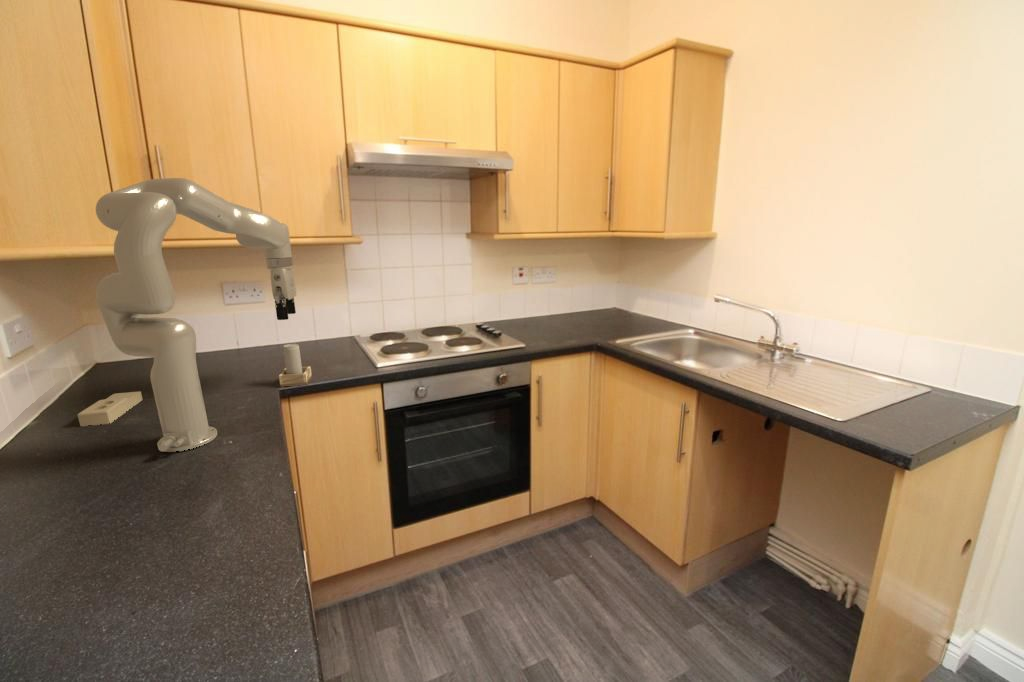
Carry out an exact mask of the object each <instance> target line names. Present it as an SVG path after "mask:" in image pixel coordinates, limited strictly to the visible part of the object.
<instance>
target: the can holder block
mask: <svg viewBox="0 0 1024 682" xmlns="http://www.w3.org/2000/svg"><path fill="white" fill-rule="evenodd" d="M302 372H303V373H302V374H288V375H287V371H286V367H285V368H284V369H283V370H282V372H281V373H280V374H279V375H278V379H279V386H291V385H306V386H308V385H309V383H310V382H311V380H312V378H313V375H312V368H311V366H310V365H309V366H302ZM311 377H312V378H311ZM310 379H311V380H310ZM308 382H309V383H308ZM307 384H308V385H307Z"/></svg>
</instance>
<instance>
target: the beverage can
mask: <svg viewBox="0 0 1024 682" xmlns="http://www.w3.org/2000/svg"><path fill="white" fill-rule="evenodd" d="M282 350H283V357H284V363H285V368H286V371H287V375H288V374H302V373H303V372H302V367H303V365H302V359H301V357H302V356H301V351H300V345H299V344H298V343H289V344H284V345H283V348H282Z"/></svg>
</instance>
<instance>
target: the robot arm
mask: <svg viewBox="0 0 1024 682" xmlns="http://www.w3.org/2000/svg"><path fill="white" fill-rule="evenodd" d="M95 215H96V217H97V219H98V220H99V222H100V223H101V224H102V225H103V226H105V227H107V228H108V229H110V230H113V231H116V232H118V233H117V234H116V237H115V240H114V244H113V254H114V258H115V259H114V260H115V261H116V266H117V270H118V272H115V273H110V274H109V275H106V276H104V277H103V278H102V279H101V281H99V283H98V285H97V288H96V302H97V306H98V308H99V310H100V313H101V315H102V318H103V320H104V323H105V325H106V327H107V330H108V333H109V335H110V338H111V340H112V343H113V344H114V346H115V347H116V349H118V350H119V352H121V353H122V354H124V355H126V356H127V355H128V356H132V357H143V358H153V363H152V364H153V365H152V366H151V368H150V369H151V370H150V374H149V375H150V377H149V378H150V383H151V387H152V391H153V396H154V400H155V405H156V409H157V414H158V419H159V423H160V426H161V430H162V435H163V436H162V437H161V438H160V439H159V440H158V441H157V443H156V446H157V448H158V450H159V451H160V452H162V453H163V452H165V453H177V452H176V451H179V452H185V451H189V450H188V449H190V450H193V448H194V449H196V447H197V448H199V446H200V447H202V446H204V444H205V445H207V444H208V443H210V442H212V441H214V440H215V438H216V437H217V436H218V430H217V429H216V428H215V427H213V426H210V425H209V422H208V417H207V412H206V406H205V400H204V397H203V390H202V387H201V381H200V380H201V379H200V377H199V371H198V365H197V354H196V353H197V352H196V350H197V336H196V331H195V329H194V327H193V326H191V324H190V323H188V322H187V321H185V320H183V319H179V318H174V317H159V316H158V317H157V316H156V317H155V316H154V317H152V316H151V317H149V316H148V315H160V314H161V315H162V314H166V313H167V312H169V311H171V310H172V309H174V306H175V304H176V296H175V291H174V286H173V284H172V281H171V279H170V275H169V272H168V269H167V267H166V264H165V263H166V262H165V259H164V256H163V252H162V251H163V250H162V246H163V245H162V244H163V242H164V238H165V236H166V235H167V233H168V232H169V230H170V228H172V226H173V225H174V223H175V221H176V219H177V215H181V216H184V217H186V218H188V219H190V220H191V221H192V220H193V221H194V222H197V223H199V224H201V225H202V226H204V227H207V228H208V229H211V230H213V231H215V232H220V233H225V234H230V235H235V238H236V241H237V243H238V244H239V245H241V246H242V247H244V248H246V249H252V250H259V249H260V250H263V249H264V257H265V262H266V269H267V270H270V271H269V272H270V281H271V291H272V292H271V293H272V297H273V299H274V303H275V304H274V305H275V306H274V307H275V311H276V319H277V320H278V321H283V320H286V321H287V320H288V319H289V315H293V314H296V312H297V311H296V305H295V299H294V298H295V297H296V296H297V290H296V285H295V284H296V282H295V279H294V273H293V268H294V264H293V255H292V247H291V246H292V245H291V240H290V239H291V238H290V231H289V226H288V225H287V224H286V223H281V222H280V221H278V220H277V219H275V218H273V217H272V216H270V215H268V214H266V213H263V212H261V211H258V210H256V209H253V208H249V207H245V206H243V205H240V204H236V203H233V202H229V201H228V200H225V199H224V198H222V197H221V196H219V195H217V194H215V193H214V192H212V191H210V190H208V189H206V188H205V187H204V186H202V185H199V184H198V183H196V182H194V181H192V180H190V179H187V178H183V177H182V178H181V177H170V178H169V177H168V178H152V179H147V180H143V181H141V182H137V183H135V184H132V185H129V186H128V185H127V186H126V187H123V188H119V189H116V190H114V191H110V192H108V193H106V194H104V195H102V196H101V197H100V198H99V199H98V201H96V204H95ZM184 450H185V451H184Z"/></svg>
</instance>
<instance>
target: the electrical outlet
mask: <svg viewBox="0 0 1024 682" xmlns="http://www.w3.org/2000/svg"><path fill="white" fill-rule="evenodd" d="M141 401H143V395H142V391H141V390H140V391H129V392H118V393H117V392H116V393H115V392H114V393H113V394H112V395H111V394H110V395H109V396H108V397H107V398H105V399H100V400H97V401H95V402H94V403H93V404H91V405H90V406H88V407H87V408H84V409H83V410H82V411H80V412H79V413H77V418H78V423H79V425H80V427H81V426H82V427H89V426H88V425H92V426H99V425H100V424H102V425H110V424H112V423H113V422H115V421H116V420H118V419H119V418H120V417H122V416H123V415H124V414H126V413H127V412H128V411H129V409H130V410H132V408H133V406H134V407H135V406H136V405H138V404H139V403H140V402H141ZM126 411H127V412H126ZM118 417H119V418H118ZM114 420H115V421H114ZM109 423H110V424H109Z"/></svg>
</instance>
